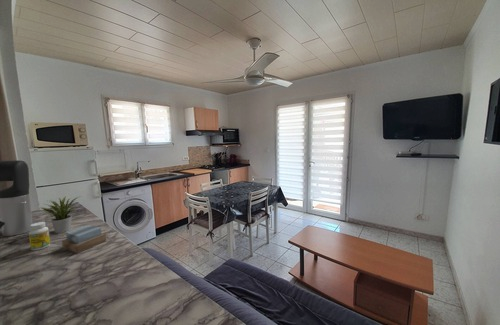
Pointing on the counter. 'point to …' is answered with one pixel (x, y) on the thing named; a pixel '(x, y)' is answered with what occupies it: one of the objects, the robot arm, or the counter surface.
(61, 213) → the house plant
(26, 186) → the robot arm
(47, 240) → the supplement bottle
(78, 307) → the counter surface
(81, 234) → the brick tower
